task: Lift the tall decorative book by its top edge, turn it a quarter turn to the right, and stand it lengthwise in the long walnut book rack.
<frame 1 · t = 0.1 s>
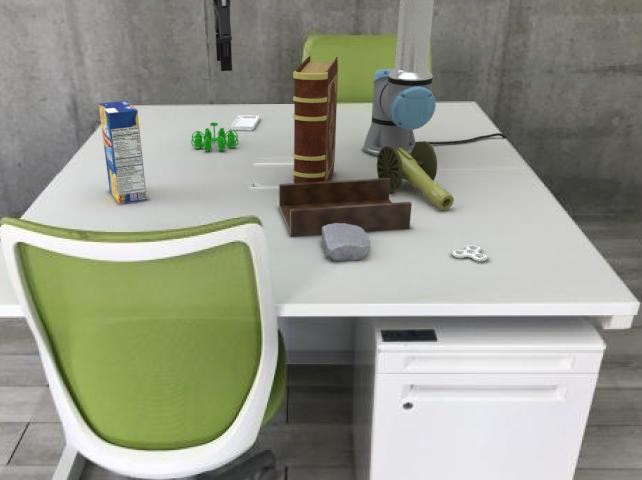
hand: (224, 65, 184), 28 cm above the table, tool pointing down, fingers open, 13 cm apart
cannon: (417, 196, 182), on the table
decorative book: (314, 185, 189), on the table
beverage box: (128, 196, 183), on the table
phone case: (245, 125, 242), on the table
fidget spinner: (467, 256, 150), on the table
book rack: (341, 218, 169), on the table
stone block: (346, 250, 153), on the table
chandelier: (215, 147, 220), on the table
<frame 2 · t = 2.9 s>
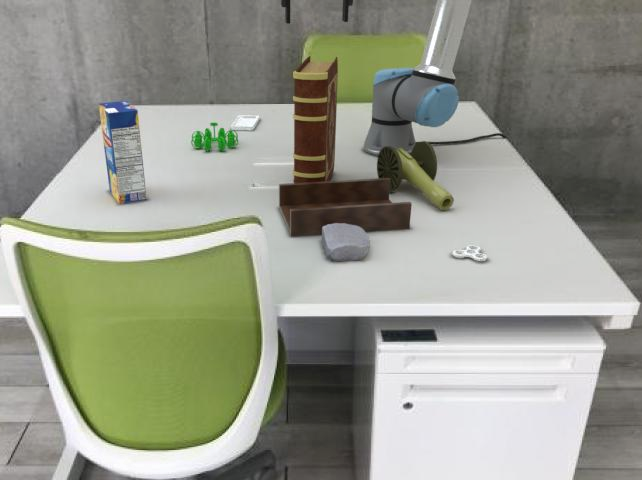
hand: (316, 22, 169), 39 cm above the table, tool pointing down, fingers open, 13 cm apart
nothing on the table moved.
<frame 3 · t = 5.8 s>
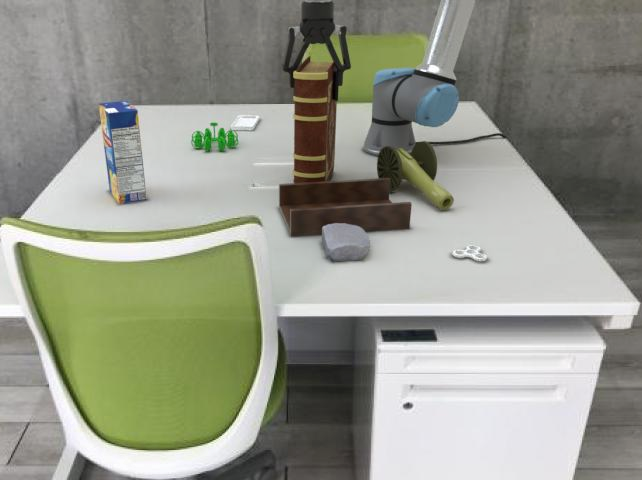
hand: (315, 100, 178), 22 cm above the table, tool pointing down, fingers closed on decorative book, 9 cm apart
decorative book: (314, 185, 189), on the table, touching gripper
everything else where it was.
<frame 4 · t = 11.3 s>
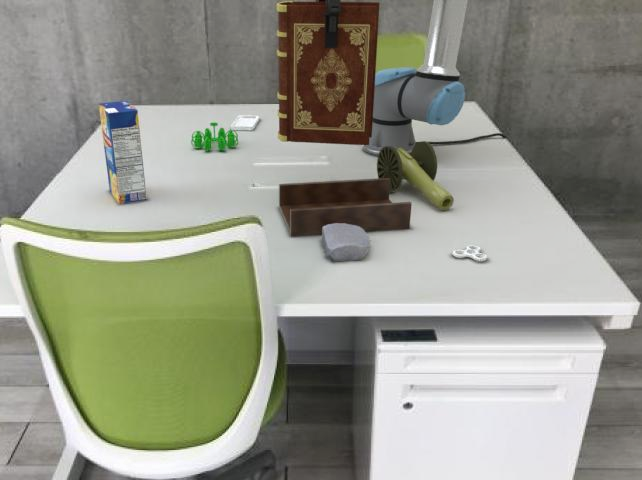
hand: (326, 44, 164), 36 cm above the table, tool pointing down, fingers closed on decorative book, 9 cm apart
decorative book: (323, 140, 175), point 14 cm above the table, touching gripper
everything else where it was.
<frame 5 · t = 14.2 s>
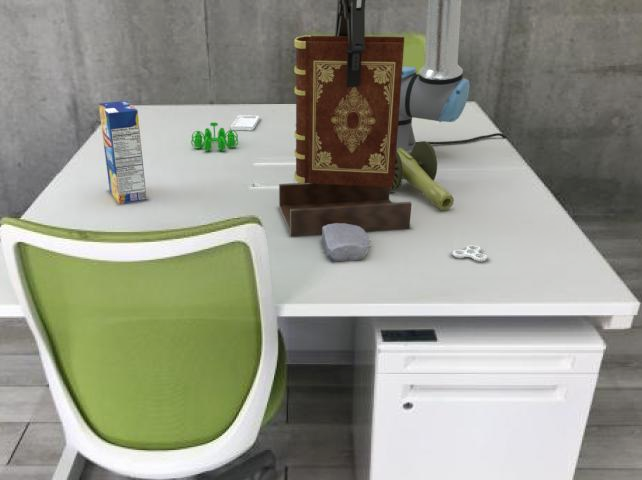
hand: (347, 81, 153), 31 cm above the table, tool pointing down, fingers closed on decorative book, 9 cm apart
decorative book: (343, 180, 164), point 9 cm above the table, touching gripper
everything else where it was.
when the fingers open (23 cm above the table, at t = 16.9 s): decorative book stays where it is, resting on book rack.
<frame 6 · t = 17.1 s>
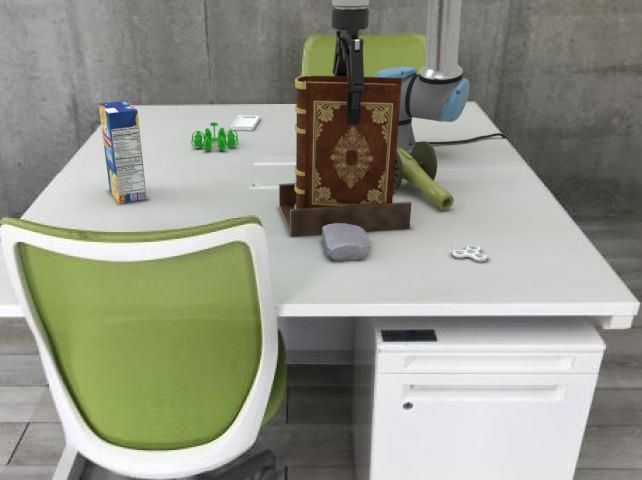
hand: (346, 117, 157), 23 cm above the table, tool pointing down, fingers open, 11 cm apart
decorative book: (342, 214, 168), point 1 cm above the table, touching book rack
everything else where it was.
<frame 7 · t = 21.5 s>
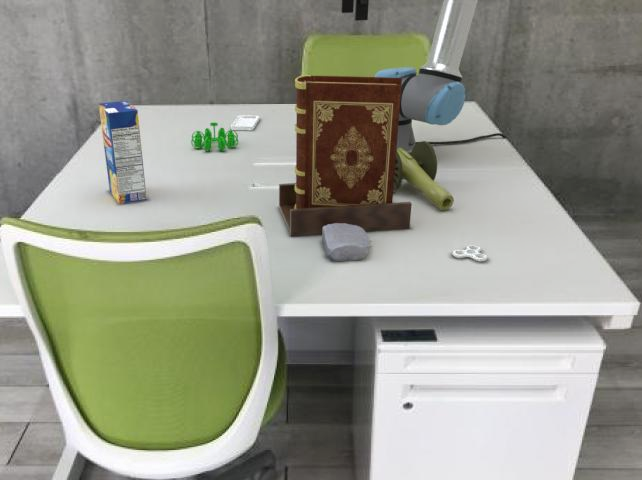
hand: (354, 16, 167), 41 cm above the table, tool pointing down, fingers open, 13 cm apart
nothing on the table moved.
at the end: decorative book inside the target area on the book rack (0.1 cm from its centre), point 0.8 cm above the book rack's base; decorative book tilted 0°; the gripper is holding nothing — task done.
